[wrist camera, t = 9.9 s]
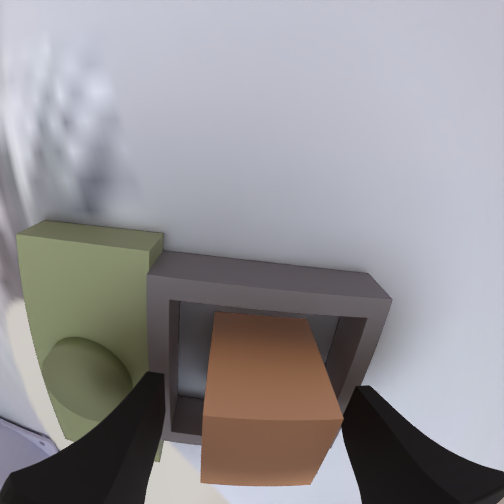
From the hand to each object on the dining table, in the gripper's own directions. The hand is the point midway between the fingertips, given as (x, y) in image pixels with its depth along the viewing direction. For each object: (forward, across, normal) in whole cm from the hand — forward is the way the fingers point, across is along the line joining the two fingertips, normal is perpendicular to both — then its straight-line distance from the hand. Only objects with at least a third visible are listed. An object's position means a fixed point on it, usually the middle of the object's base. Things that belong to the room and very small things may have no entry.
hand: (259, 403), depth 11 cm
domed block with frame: (+3, +3, +1) cm, 5 cm away
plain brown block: (+3, 0, 0) cm, 4 cm away
